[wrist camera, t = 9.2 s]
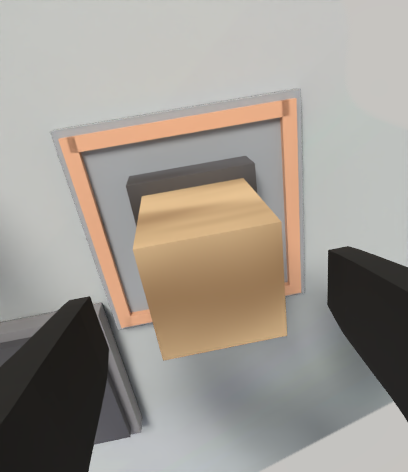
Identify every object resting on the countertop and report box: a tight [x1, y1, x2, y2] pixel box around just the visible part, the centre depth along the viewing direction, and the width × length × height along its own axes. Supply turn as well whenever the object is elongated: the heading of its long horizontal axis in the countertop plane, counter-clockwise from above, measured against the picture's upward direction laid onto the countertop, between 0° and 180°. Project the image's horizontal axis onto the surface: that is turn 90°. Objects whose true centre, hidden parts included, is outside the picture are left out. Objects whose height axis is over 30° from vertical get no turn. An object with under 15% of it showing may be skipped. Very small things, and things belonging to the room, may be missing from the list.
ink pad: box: [0, 303, 142, 444], centre depth 18 cm, size 9×9×2 cm
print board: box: [50, 89, 305, 330], centre depth 15 cm, size 10×10×1 cm
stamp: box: [126, 156, 287, 361], centre depth 12 cm, size 5×5×6 cm
